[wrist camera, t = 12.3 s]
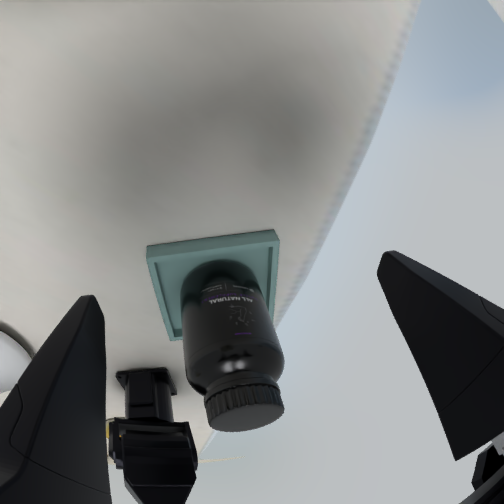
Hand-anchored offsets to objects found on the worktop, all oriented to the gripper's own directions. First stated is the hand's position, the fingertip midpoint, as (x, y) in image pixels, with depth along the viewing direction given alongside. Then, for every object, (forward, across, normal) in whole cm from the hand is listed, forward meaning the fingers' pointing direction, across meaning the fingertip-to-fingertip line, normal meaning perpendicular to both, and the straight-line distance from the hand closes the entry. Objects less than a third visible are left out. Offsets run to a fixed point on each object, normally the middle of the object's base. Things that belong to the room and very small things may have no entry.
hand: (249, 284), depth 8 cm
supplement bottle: (+13, 0, +12) cm, 18 cm away
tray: (+13, 0, +12) cm, 18 cm away
